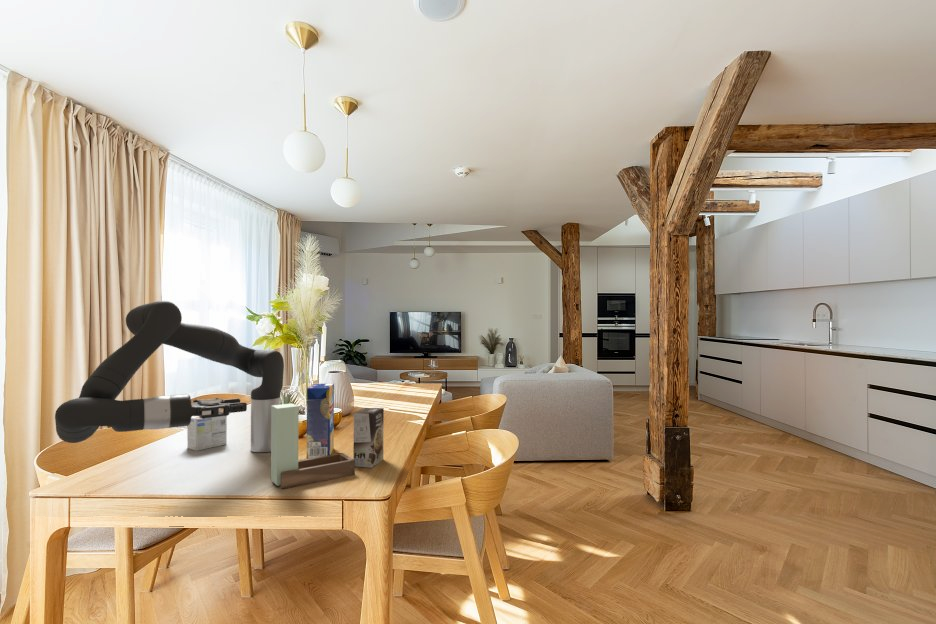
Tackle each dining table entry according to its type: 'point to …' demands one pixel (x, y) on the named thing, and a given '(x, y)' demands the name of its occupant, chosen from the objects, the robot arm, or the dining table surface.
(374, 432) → the coffee box
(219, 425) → the light bulb box
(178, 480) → the dining table surface
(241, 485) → the dining table surface
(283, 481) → the chute
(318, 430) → the beverage box
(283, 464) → the block
